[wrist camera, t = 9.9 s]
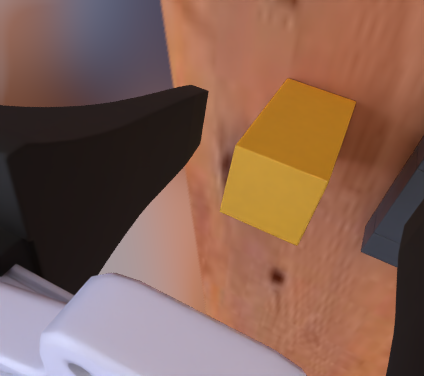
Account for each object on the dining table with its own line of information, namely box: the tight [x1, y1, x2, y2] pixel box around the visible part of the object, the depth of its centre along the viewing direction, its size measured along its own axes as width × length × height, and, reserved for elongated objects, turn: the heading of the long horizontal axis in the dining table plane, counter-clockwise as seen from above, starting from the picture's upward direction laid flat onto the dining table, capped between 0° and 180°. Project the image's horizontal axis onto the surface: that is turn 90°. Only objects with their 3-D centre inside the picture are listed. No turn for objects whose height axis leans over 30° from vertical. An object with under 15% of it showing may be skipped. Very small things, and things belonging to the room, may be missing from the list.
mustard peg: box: [220, 78, 356, 246], centre depth 19 cm, size 4×4×8 cm
